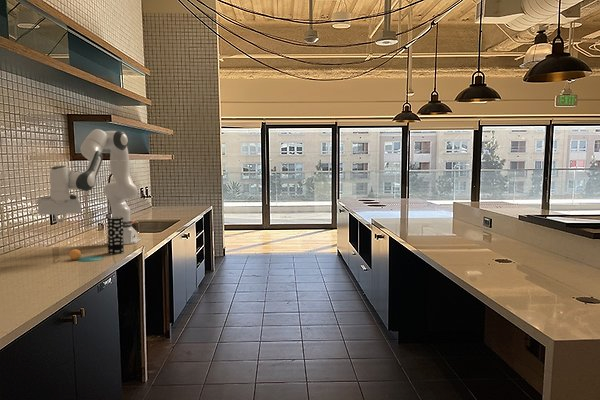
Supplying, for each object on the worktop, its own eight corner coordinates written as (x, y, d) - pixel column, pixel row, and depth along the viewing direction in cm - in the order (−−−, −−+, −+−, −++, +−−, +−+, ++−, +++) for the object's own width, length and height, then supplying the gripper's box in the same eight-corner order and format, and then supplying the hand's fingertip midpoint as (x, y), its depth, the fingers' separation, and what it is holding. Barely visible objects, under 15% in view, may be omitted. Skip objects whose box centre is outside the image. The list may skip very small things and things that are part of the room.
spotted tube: (117, 254, 248) (117, 219, 247) (104, 253, 250) (104, 218, 248) (126, 251, 256) (126, 217, 255) (113, 251, 258) (113, 216, 257)
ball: (83, 259, 234) (76, 260, 236) (83, 248, 235) (76, 250, 237) (74, 258, 229) (67, 260, 231) (74, 248, 230) (66, 250, 232)
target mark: (85, 256, 243) (85, 255, 243) (107, 256, 242) (107, 256, 242) (70, 261, 230) (70, 260, 230) (94, 261, 229) (94, 261, 229)
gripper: (37, 197, 226) (38, 224, 227) (81, 196, 238) (82, 221, 239) (36, 196, 231) (37, 222, 232) (79, 195, 243) (80, 220, 244)
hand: (60, 222), depth 236 cm, fingers closed
